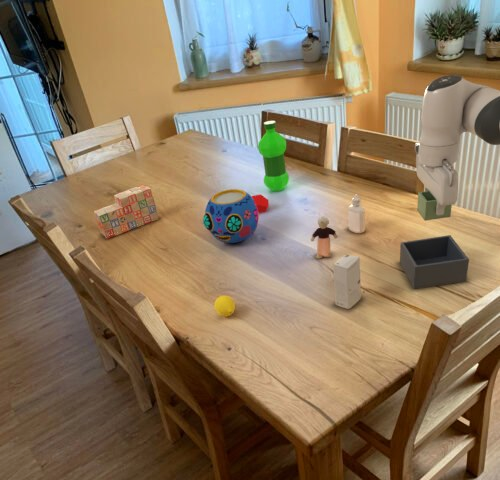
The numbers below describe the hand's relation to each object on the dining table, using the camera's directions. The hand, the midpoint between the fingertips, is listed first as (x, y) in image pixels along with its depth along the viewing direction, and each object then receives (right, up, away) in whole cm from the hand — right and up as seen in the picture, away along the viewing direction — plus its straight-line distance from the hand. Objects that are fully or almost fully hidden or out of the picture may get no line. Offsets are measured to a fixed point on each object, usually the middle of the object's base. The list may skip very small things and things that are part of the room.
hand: (433, 207), depth 126 cm
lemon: (-53, -27, +7) cm, 60 cm away
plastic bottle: (-36, +25, +69) cm, 81 cm away
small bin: (0, -1, +1) cm, 2 cm away
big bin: (+2, -15, +8) cm, 17 cm away
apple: (-43, +13, +55) cm, 71 cm away
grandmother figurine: (-24, -9, +23) cm, 34 cm away
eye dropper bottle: (-13, +1, +33) cm, 35 cm away
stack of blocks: (-92, +8, +61) cm, 111 cm away
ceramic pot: (-51, 0, +41) cm, 65 cm away
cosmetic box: (-21, -24, +3) cm, 32 cm away
